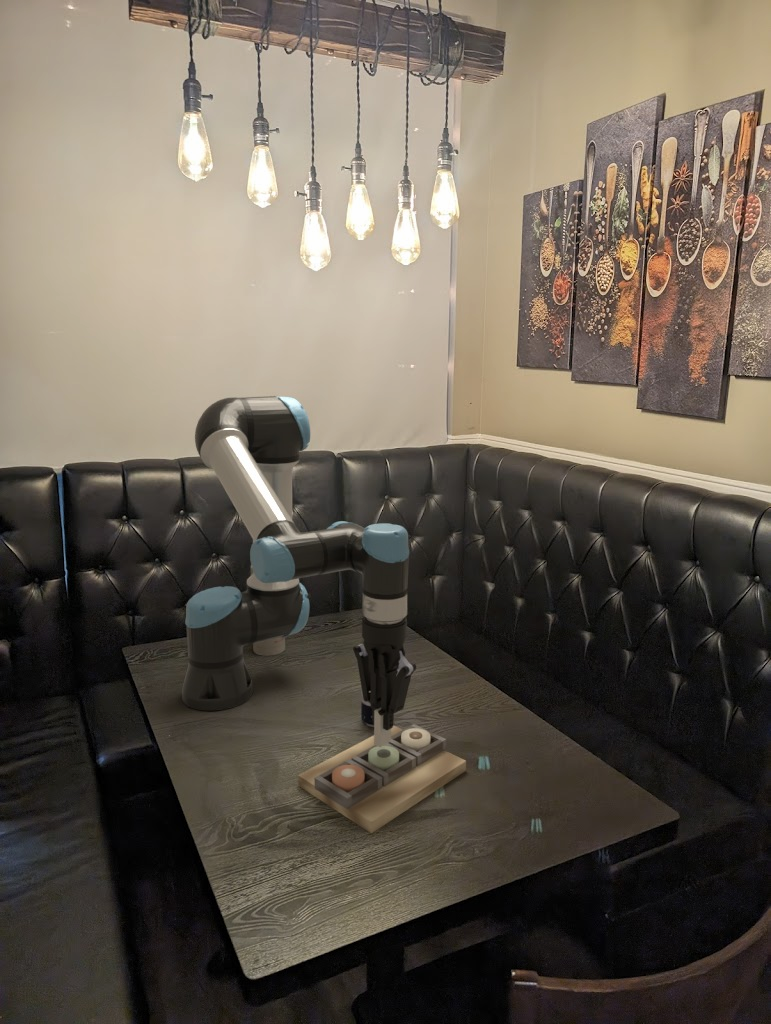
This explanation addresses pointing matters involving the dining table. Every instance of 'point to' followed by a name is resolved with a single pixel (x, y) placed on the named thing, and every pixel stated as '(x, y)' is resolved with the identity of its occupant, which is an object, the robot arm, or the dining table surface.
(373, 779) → the panel
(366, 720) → the beverage can
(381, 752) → the sage button
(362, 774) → the terracotta button
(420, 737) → the cream button
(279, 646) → the thermos bottle
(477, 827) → the dining table surface
